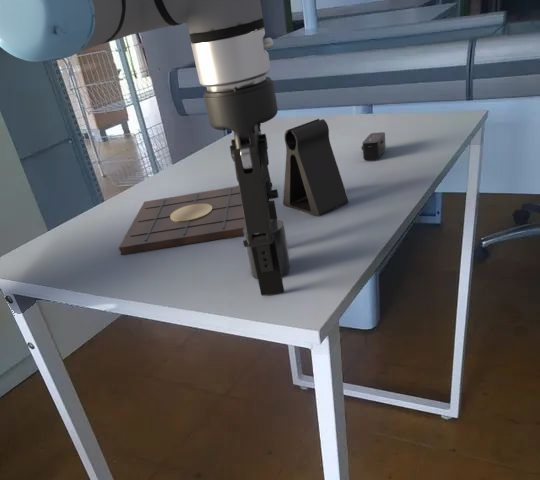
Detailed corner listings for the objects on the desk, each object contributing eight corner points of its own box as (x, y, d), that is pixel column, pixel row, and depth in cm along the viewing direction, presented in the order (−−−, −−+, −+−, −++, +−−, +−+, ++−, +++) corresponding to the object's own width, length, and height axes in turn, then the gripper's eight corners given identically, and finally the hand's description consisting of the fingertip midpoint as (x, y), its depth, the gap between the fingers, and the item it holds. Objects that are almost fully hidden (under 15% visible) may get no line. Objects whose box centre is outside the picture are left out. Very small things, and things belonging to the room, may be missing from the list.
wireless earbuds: (387, 148, 103) (386, 130, 101) (377, 161, 98) (376, 142, 96) (363, 150, 105) (362, 132, 103) (352, 162, 100) (351, 144, 98)
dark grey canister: (251, 283, 68) (241, 238, 64) (252, 265, 72) (243, 222, 68) (291, 277, 67) (283, 231, 64) (290, 259, 71) (283, 215, 68)
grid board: (121, 255, 82) (118, 246, 82) (146, 208, 99) (143, 200, 98) (251, 234, 80) (249, 225, 80) (254, 189, 97) (253, 182, 96)
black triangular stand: (283, 205, 88) (271, 127, 81) (311, 193, 90) (302, 116, 83) (319, 216, 81) (308, 133, 75) (348, 203, 84) (341, 121, 77)
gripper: (272, 96, 47) (306, 312, 59) (272, 59, 66) (297, 228, 79) (187, 113, 48) (239, 322, 60) (212, 71, 67) (246, 236, 79)
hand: (272, 269), depth 69 cm, fingers open, 11 cm apart
